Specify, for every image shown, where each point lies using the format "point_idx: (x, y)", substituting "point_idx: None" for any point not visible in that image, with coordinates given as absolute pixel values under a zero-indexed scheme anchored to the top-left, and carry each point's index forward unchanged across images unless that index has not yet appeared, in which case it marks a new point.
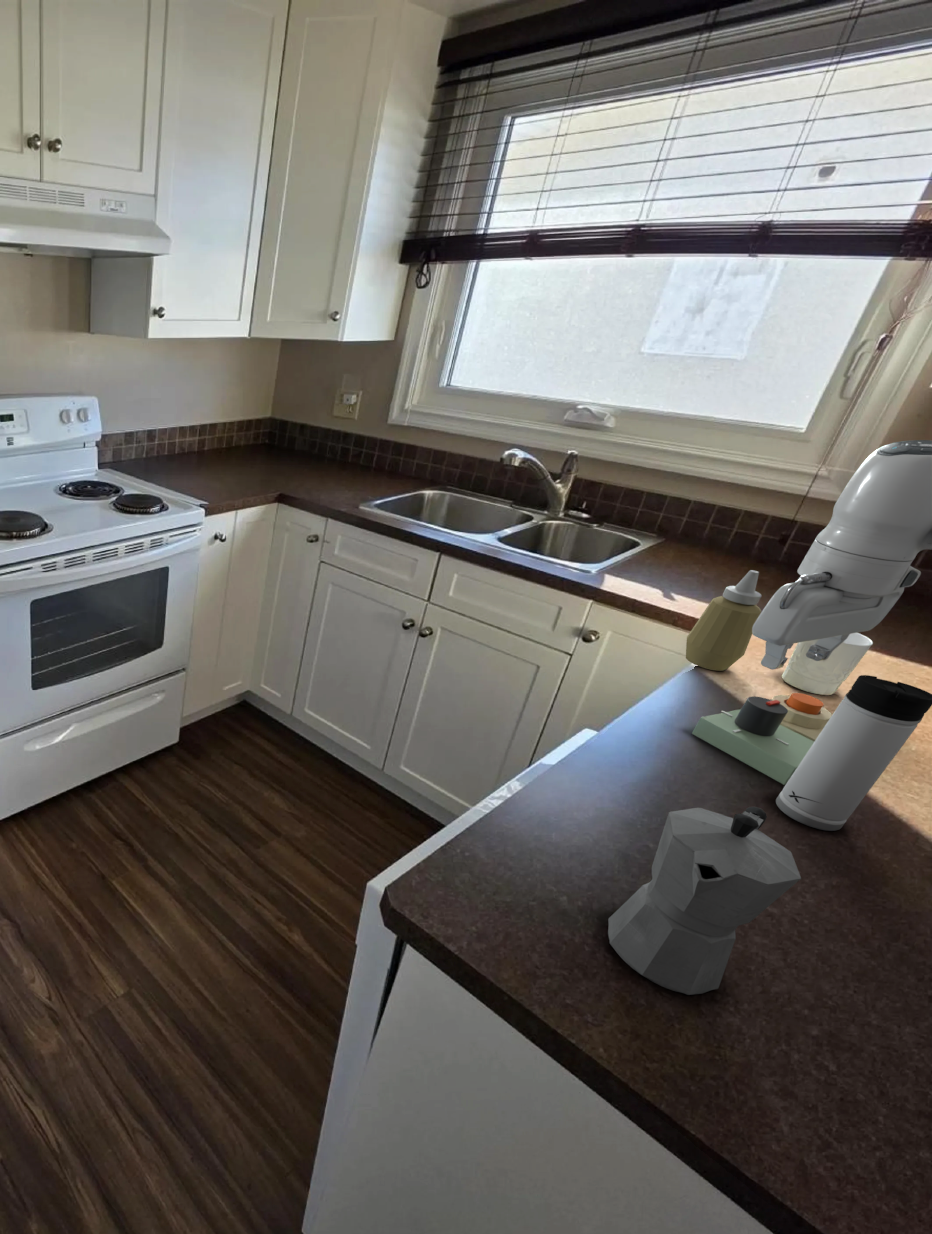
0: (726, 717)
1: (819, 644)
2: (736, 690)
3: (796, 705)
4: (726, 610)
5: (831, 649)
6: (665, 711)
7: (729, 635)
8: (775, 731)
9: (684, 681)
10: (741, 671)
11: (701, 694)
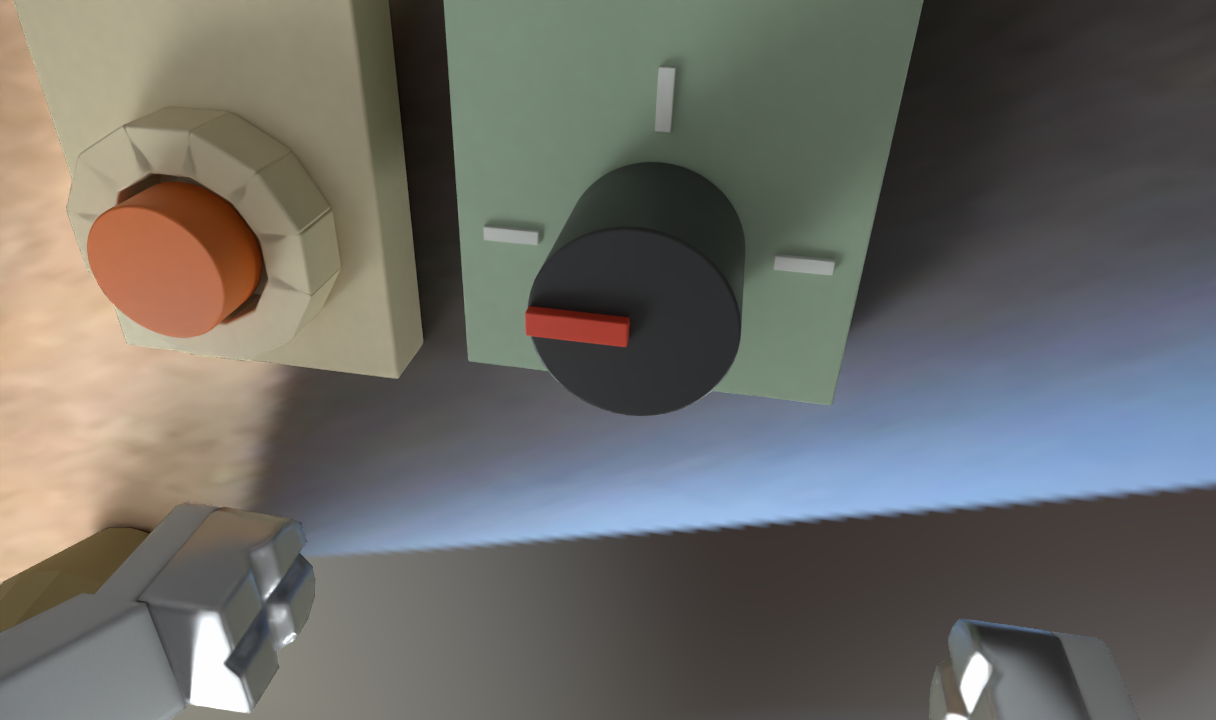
0: None
1: (163, 696)
2: (211, 441)
3: (243, 269)
4: None
5: (129, 611)
6: (725, 478)
7: None
8: (627, 172)
9: (376, 549)
10: (50, 497)
11: (404, 481)
